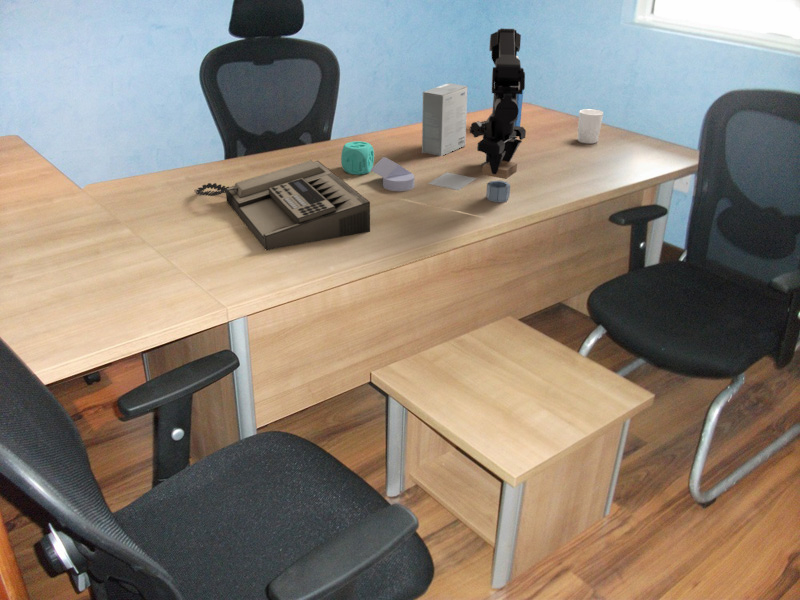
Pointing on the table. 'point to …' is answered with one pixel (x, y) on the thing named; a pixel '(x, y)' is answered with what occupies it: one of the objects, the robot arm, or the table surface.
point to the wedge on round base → (394, 175)
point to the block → (501, 170)
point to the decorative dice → (357, 157)
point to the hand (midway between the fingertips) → (499, 170)
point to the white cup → (589, 125)
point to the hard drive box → (444, 119)
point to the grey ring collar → (498, 191)
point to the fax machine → (297, 205)
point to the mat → (452, 181)
